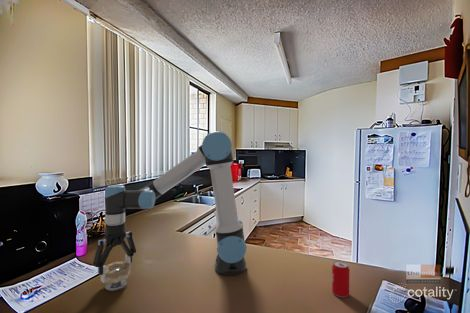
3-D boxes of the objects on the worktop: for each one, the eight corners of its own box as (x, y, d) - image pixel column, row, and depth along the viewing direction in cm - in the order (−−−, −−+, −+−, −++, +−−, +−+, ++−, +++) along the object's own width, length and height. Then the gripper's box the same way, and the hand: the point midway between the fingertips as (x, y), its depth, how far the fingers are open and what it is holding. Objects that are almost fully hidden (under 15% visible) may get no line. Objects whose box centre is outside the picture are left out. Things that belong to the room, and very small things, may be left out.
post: (130, 284, 103) (130, 268, 103) (111, 293, 97) (111, 276, 97) (120, 278, 108) (119, 263, 108) (101, 287, 101) (101, 270, 101)
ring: (134, 275, 104) (133, 265, 103) (110, 285, 95) (110, 275, 95) (120, 268, 109) (120, 259, 109) (97, 278, 101) (97, 268, 101)
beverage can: (344, 289, 100) (344, 260, 99) (352, 298, 93) (352, 267, 93) (329, 289, 99) (329, 260, 99) (336, 299, 93) (336, 267, 93)
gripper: (134, 215, 113) (135, 263, 114) (81, 228, 95) (82, 285, 95) (144, 218, 109) (145, 267, 109) (91, 232, 90) (92, 291, 91)
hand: (116, 276), depth 102 cm, fingers closed on ring, 10 cm apart
